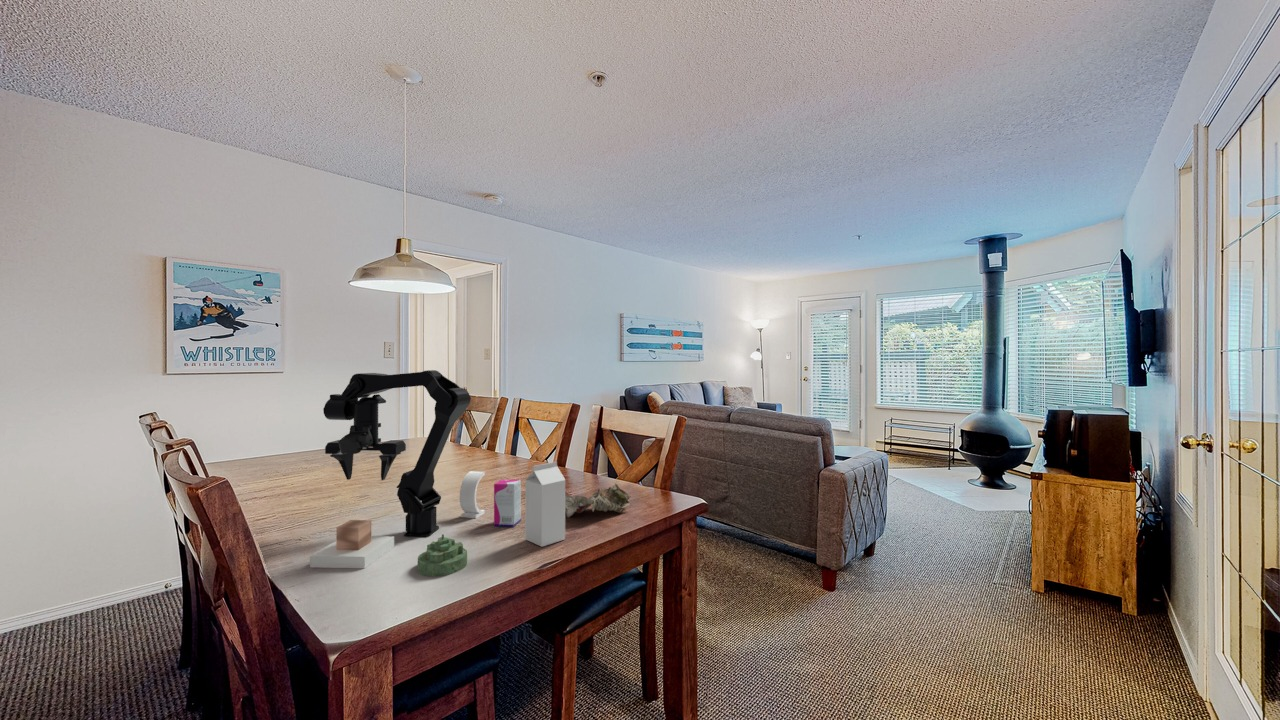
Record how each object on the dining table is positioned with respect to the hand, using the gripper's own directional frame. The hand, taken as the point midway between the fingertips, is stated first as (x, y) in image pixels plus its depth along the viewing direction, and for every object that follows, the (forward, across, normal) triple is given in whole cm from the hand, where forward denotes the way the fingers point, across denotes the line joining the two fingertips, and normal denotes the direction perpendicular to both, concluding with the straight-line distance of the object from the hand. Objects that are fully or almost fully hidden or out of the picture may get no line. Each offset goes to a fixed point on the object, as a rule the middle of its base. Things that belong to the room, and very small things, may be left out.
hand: (366, 479), depth 131 cm
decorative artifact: (+13, +30, -22) cm, 40 cm away
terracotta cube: (+10, +8, -18) cm, 22 cm away
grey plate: (+13, +8, -18) cm, 24 cm away
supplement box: (+13, +36, +6) cm, 39 cm away
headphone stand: (+13, +24, +12) cm, 30 cm away
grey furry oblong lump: (+13, +58, +16) cm, 62 cm away
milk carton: (+13, +49, -6) cm, 51 cm away
